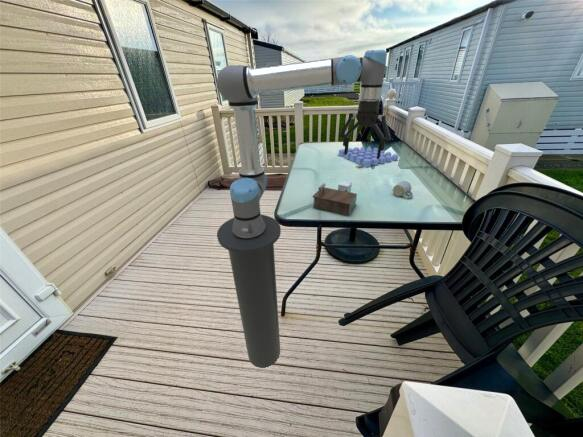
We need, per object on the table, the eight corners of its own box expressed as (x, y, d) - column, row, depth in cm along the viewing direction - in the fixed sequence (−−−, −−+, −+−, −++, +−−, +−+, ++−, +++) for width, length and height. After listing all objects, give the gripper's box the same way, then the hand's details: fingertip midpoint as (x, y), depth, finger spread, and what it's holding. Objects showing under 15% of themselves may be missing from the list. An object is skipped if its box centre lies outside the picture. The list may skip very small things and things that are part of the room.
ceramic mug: (390, 194, 144) (393, 182, 140) (397, 190, 149) (400, 178, 145) (407, 201, 138) (411, 188, 133) (414, 196, 142) (418, 184, 138)
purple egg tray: (338, 155, 211) (338, 149, 208) (368, 150, 224) (369, 144, 222) (366, 167, 184) (367, 161, 182) (399, 160, 198) (400, 154, 195)
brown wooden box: (313, 207, 132) (314, 197, 129) (322, 198, 142) (323, 188, 139) (348, 216, 124) (349, 205, 121) (355, 205, 134) (356, 195, 131)
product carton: (337, 195, 144) (338, 184, 140) (341, 191, 149) (342, 180, 145) (346, 198, 141) (348, 186, 137) (350, 194, 146) (352, 182, 142)
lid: (312, 197, 129) (312, 189, 127) (321, 188, 139) (322, 180, 136) (349, 205, 121) (350, 196, 118) (356, 195, 131) (358, 186, 128)
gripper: (406, 100, 89) (394, 157, 100) (340, 97, 99) (336, 150, 110) (403, 102, 83) (391, 162, 95) (334, 99, 94) (330, 154, 105)
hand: (361, 156), depth 102 cm, fingers open, 13 cm apart
